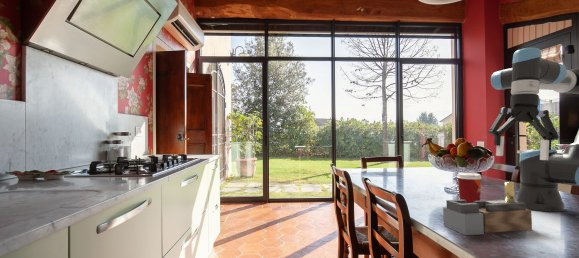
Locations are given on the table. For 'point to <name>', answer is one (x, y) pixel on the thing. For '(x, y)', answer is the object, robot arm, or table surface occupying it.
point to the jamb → (463, 217)
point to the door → (505, 216)
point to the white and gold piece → (506, 194)
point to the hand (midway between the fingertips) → (521, 158)
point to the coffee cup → (469, 186)
